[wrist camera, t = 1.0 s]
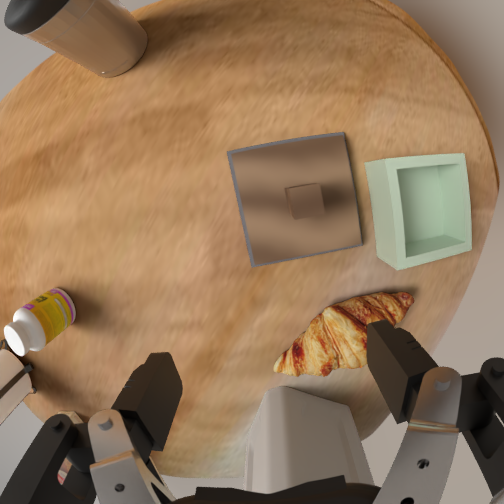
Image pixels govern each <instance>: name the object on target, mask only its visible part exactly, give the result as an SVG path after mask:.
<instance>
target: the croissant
mask: <svg viewBox="0 0 504 504" xmlns="http://www.w3.org/2000/svg"><path fill="white" fill-rule="evenodd" d="M413 303H414V298H413V297H412V295H410V294H409V293H407V292H398V293H396V294H394V293H393V294H388V293H383V292H379V293H373V294H370V295H367V296H361V297H354V298H351V299H349V300H346V301H344V302H341V303H337V304H334V305H332V306H328V307H326V308H325V310H324V311H323V312H322V313H321V314H319V315H317V316H316V317H315V318H314V319H313V320H312V321H311V323H310V326H309V327H308V329H307V330H306V332H305V333H302V334H301V335H300V336H299V337H298V338H297V339H296V340H295V341H294V343H293V344H292V346H291V347H290V349H289V350H287V351H285V352H284V353H283V354H282V355H281V356H280V357H279V358H278V359H277V361H276V362H275V364H274V371H275V372H277V373H280V372H282V373H284V374H288V375H290V376H293V375H294V376H297V377H298V376H299V375H301V374H308V375H317V376H321V375H323V377H324V376H327V375H329V374H330V372H331V371H332V370H333V369H334V370H335V369H337V368H344V369H345V368H350V369H354V368H359V367H360V368H362V367H363V366H364V365H366V364H368V363H367V357H366V351H367V326H368V324H369V323H371V322H375V321H379V320H383V319H387V320H388V321H389V322H390V324H391V325H392V326H393V327H394V325H395V324H396V323H399V322H400V321H401V320H402V319H403V318H404V317H405V315H406V313H407V311H408V309H409V307H410V306H411V305H412V304H413Z"/></svg>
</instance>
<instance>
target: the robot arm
mask: <svg viewBox="0 0 504 504" xmlns="http://www.w3.org/2000/svg"><path fill="white" fill-rule="evenodd" d="M4 21H5V25H6V26H7V27H8V28H9V29H10V30H12V31H14V32H16V33H18V34H21V35H23V36H25V37H27V38H29V39H31V40H34V41H36V42H38V43H40V44H42V45H44V46H46V47H48V48H50V49H52V50H54V51H56V52H58V53H59V54H61V55H63V56H65V57H67V58H69V59H71V60H72V61H74V62H76V63H78V64H80V65H81V66H83V67H85V68H87V69H88V70H90V71H92V72H94V73H95V74H97V75H99V76H101V77H114V76H117V75H120V74H122V73H124V72H126V71H127V70H128V69H130V68H131V67H132V66H133V65H134V64H135V63H137V61H138V60H139V59H140V58H141V57H142V55H143V53H144V51H145V49H146V46H147V42H148V38H147V34H146V31H145V30H144V29H143V28H142V27H141V25H140V24H139V23H138V22H137V21H136V20H135V18H134V17H133V16H132V15H131V14H130V12H129V11H128V10H127V9H126V8H125V7H124V6H123V4H122V3H121V2H120V1H119V0H11V1H10V3H9V5H8V7H7V10H6V13H5V19H4ZM366 357H367V363H368V367H369V369H370V371H371V373H372V375H373V377H374V379H375V381H376V383H377V385H378V387H379V389H380V391H381V393H382V395H383V396H384V398H385V400H386V402H387V404H388V406H389V409H390V411H391V413H392V415H393V416H394V419H395V421H396V422H397V424H399V423H402V422H405V421H407V422H408V424H409V425H408V428H407V430H406V433H405V436H404V438H403V441H402V443H401V446H400V448H399V451H398V453H397V456H396V458H395V460H394V462H393V465H392V467H391V469H390V471H389V473H388V475H387V477H386V480H385V482H384V483H383V486H382V487H378V486H375V485H371V484H365V483H354V482H350V483H346V481H345V476H344V475H340V476H336V477H331V478H326V479H321V480H315V481H309V482H305V483H303V484H300V485H297V486H294V487H291V488H288V489H284V490H281V491H278V492H274V493H270V494H265V493H258V492H251V491H245V490H240V489H234V488H214V487H197V488H196V493H195V495H192V496H187V497H183V498H180V499H176V498H175V497H174V496H173V495H172V493H171V492H170V490H169V489H168V487H167V485H166V483H165V482H164V480H163V478H162V477H161V475H160V473H159V471H158V469H157V467H156V466H155V464H154V462H153V460H152V458H151V457H150V453H151V450H154V451H163V449H164V446H165V443H166V440H167V437H168V434H169V431H170V428H171V425H172V422H173V419H174V416H175V413H176V410H177V407H178V404H179V401H180V398H181V396H182V390H183V387H182V381H181V379H180V376H179V374H178V371H177V369H176V366H175V364H174V361H173V359H172V356H171V354H170V353H168V352H161V353H151V354H150V355H149V357H148V358H147V360H146V362H145V363H144V364H142V365H140V366H139V367H138V368H137V369H136V370H134V371H133V373H132V374H131V376H130V378H129V379H128V381H127V382H126V384H125V386H124V387H125V388H123V389H122V391H121V392H120V394H119V396H118V397H117V399H116V401H115V402H114V404H113V406H112V408H111V409H105V410H101V411H99V412H97V413H95V414H94V415H93V416H92V417H91V418H90V420H89V422H88V423H78V424H74V423H73V421H72V420H71V419H70V417H69V416H68V415H66V414H56V415H54V416H52V417H50V418H49V419H48V420H47V421H46V422H45V424H44V425H43V426H42V428H41V430H40V431H39V433H38V434H37V436H36V437H35V439H34V440H33V442H32V443H31V445H30V447H29V448H28V450H27V451H26V453H25V455H24V456H23V458H22V459H21V461H20V463H19V464H18V466H17V468H16V470H15V471H14V473H13V475H12V476H11V478H10V480H9V482H8V483H7V485H6V487H5V489H4V491H3V493H2V495H1V496H0V504H93V503H94V501H95V498H96V495H97V496H98V499H99V503H100V504H439V502H440V499H441V496H442V494H443V491H444V488H445V485H446V482H447V478H448V475H449V472H450V468H451V464H452V461H453V457H454V453H455V448H456V444H457V439H458V434H459V432H462V434H463V435H464V437H465V439H466V441H467V443H468V445H469V447H470V449H471V451H472V453H473V455H474V457H475V459H476V461H477V463H478V465H479V467H480V469H481V471H482V473H483V475H484V478H485V480H486V482H487V484H488V486H489V489H490V491H491V494H492V496H493V498H492V500H491V502H490V504H504V427H503V425H502V424H501V422H500V421H499V419H498V418H497V416H496V415H495V414H496V413H497V414H498V416H499V417H500V418H501V420H502V422H503V423H504V359H503V358H490V359H488V360H486V361H485V362H484V363H483V365H482V367H481V370H480V372H479V373H474V374H469V375H463V376H460V374H459V373H458V372H457V371H455V370H454V369H452V368H449V367H439V366H438V365H437V364H436V362H435V361H434V360H433V359H432V358H431V357H430V355H429V354H428V353H427V352H426V351H425V349H424V348H423V347H421V345H420V344H419V343H418V341H416V339H415V338H414V337H413V336H412V335H411V333H410V332H408V331H406V330H404V329H402V328H396V329H395V328H394V327H393V326H392V325H391V324H390V322H389V321H388V320H387V319H383V320H379V321H375V322H371V323H369V324H368V326H367V351H366ZM65 458H66V459H67V460H68V461H69V462H70V463H71V464H72V465H71V467H70V469H69V471H68V473H67V476H66V478H65V480H64V482H63V484H62V485H61V484H60V482H59V480H58V472H59V470H60V468H61V466H62V464H63V462H64V460H65Z"/></svg>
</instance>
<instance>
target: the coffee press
mask: <svg viewBox="0 0 504 504" xmlns="http://www.w3.org/2000/svg"><path fill="white" fill-rule="evenodd" d="M3 341H4V342H5V349H1V348H2V344H3ZM32 369H34V367H33V365H32V364H31V362H30V363H28V364H26V365H23V364H22V363H21V362H20V361H19V359H18V358H17V357H16V356H15V355H14V354H13V353H11V352H10V351H8V350H7V341H6V340H1V343H0V425H1V424H2V423H3V422H4V420H5V419H6V418H7V417H8V416H9V415H10V414H11V413H12V411H13V410H14V409H15V408H16V407H17V406H18V405H19V403H20V402H21V401H22V400H23V399H24V398H25V397H26V396H27V395H28V394H30V393H29V392H30V391H31V388H33V390H34V392H33V393H34V394H35V393H36V389H35V388H34V387H32V384H31V380H30V377H29V375H28V372H29V371H31V370H32Z"/></svg>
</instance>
